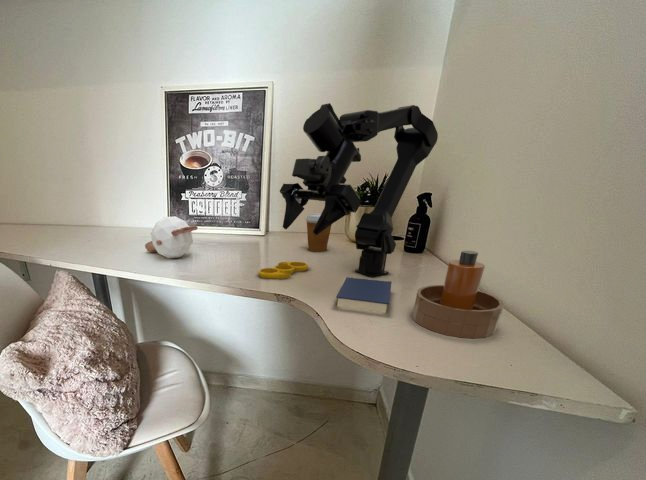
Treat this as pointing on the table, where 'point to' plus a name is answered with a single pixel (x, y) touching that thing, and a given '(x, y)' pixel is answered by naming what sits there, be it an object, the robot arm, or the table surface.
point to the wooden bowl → (457, 314)
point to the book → (364, 294)
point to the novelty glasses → (282, 270)
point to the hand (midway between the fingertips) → (298, 231)
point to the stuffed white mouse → (171, 237)
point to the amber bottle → (462, 281)
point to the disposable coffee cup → (316, 241)
